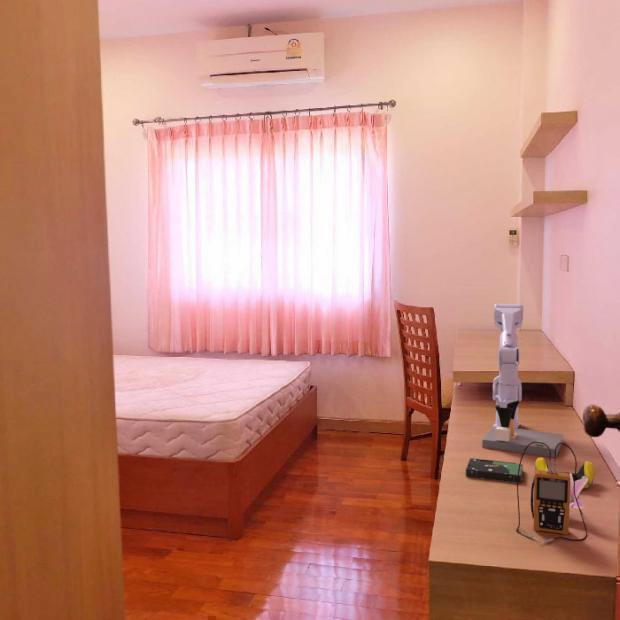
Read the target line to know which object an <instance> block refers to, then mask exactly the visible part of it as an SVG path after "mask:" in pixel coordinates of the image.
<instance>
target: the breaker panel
mask: <svg viewBox="0 0 620 620" xmlns="http://www.w3.org/2000/svg"><path fill="white" fill-rule="evenodd" d="M497 427H500V426H494V427H493V426H492V428H491V429H490V430H489V432H488V433H487V434H486V435H485V436H484V437H483V438H482V444H481V445H482V448H484V447H487V449H492V450H500V451H506V450H507V452H513V451H514V453H515V452H516V453H520V452H521V453H522V454H523V452H524V450H525V448H526V447H527V446H528V445H529V444H530V443H532V442H542V443H544V444H546V445H547V446H548V447H549V449H550V451H551V458H555V448H556V446H557V444H559V443H564V434H563V433H555V432H547V431H539V430H531V429H522V428H517V429H516V428H514V436H512V437H510V440H509V442H507V441H500V440H495V432H496V428H497ZM542 443H532V444H531V445H529V446H528V448H527V449H526V451H525V453H524V454H527V453H528V454H527V455H534V454H535V455H536V456H543V457H550V451H549V449H548V448H547V446H545V445H544V444H542ZM562 445H563V444H559V445H558V446H557V449H556V457H557V455H558V453H559V451H560V449H561V447H562ZM535 455H534V456H535Z"/></svg>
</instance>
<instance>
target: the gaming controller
mask: <svg viewBox="0 0 620 620" xmlns="http://www.w3.org/2000/svg"><path fill="white" fill-rule="evenodd" d="M548 466H549V464H548V463H547V462H546V459H545V458H544V457H537V458H536V460H535V463H534V471H535V470H541V471H548ZM595 470H596V469H595V467H594V465H593V463H592V462H591V461H584V462H583V463H582V465H581V466H580V468H579V470H578V472H576V478H575V481H577V480H580V479H584V478H588V481H587V483H586V484H585V485H584V487H583V488H582V490H584V489H588V488H589V487H591V486H592V484H593V483H594V479H595V472H596V471H595ZM551 472H553V470H551ZM559 472H560V473H568V474H570V473H571V474H572V477H573V482H574V477H575V472H566V471H559Z"/></svg>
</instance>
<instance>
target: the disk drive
mask: <svg viewBox="0 0 620 620" xmlns="http://www.w3.org/2000/svg"><path fill="white" fill-rule="evenodd" d="M519 464H520V463H516V462H510V461H509V462H507V461H498V460H491V459H490V460H489V459H480V458H475V457H474V458H471V457H470V458H469V461H468V462H467V466H466V468H465V477H466V476H467V478H473V477H474V479H482V478H484V479H483V480H492V481H498V482H499V481H500V482H507V481H508V483H516V484H517V476H518V469H519ZM523 472H524V464H522V463H521V465H520V470H519V478H518V484H522V482H523V475H524V473H523Z"/></svg>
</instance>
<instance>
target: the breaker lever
mask: <svg viewBox="0 0 620 620" xmlns="http://www.w3.org/2000/svg"><path fill="white" fill-rule="evenodd" d="M495 440H500V441H507V442H509V440H510V428H506V427H497V428H496V432H495Z"/></svg>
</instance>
